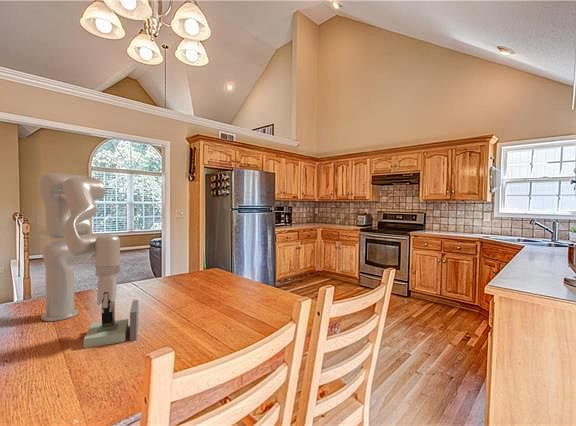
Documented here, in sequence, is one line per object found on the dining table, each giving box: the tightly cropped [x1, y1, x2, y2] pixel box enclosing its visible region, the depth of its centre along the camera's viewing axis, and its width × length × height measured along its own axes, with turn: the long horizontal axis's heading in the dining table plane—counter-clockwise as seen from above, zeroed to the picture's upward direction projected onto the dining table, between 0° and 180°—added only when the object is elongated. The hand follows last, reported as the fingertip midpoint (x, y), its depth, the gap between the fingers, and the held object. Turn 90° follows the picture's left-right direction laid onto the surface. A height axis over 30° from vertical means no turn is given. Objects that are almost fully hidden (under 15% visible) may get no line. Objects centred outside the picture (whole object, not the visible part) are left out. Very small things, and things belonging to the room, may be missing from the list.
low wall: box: [129, 299, 139, 342], centre depth 110 cm, size 14×2×10 cm, turn 24°
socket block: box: [83, 318, 129, 349], centre depth 106 cm, size 14×12×3 cm
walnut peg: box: [102, 300, 116, 327], centre depth 106 cm, size 4×4×10 cm
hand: (108, 320), depth 106 cm, fingers closed on walnut peg, 4 cm apart
